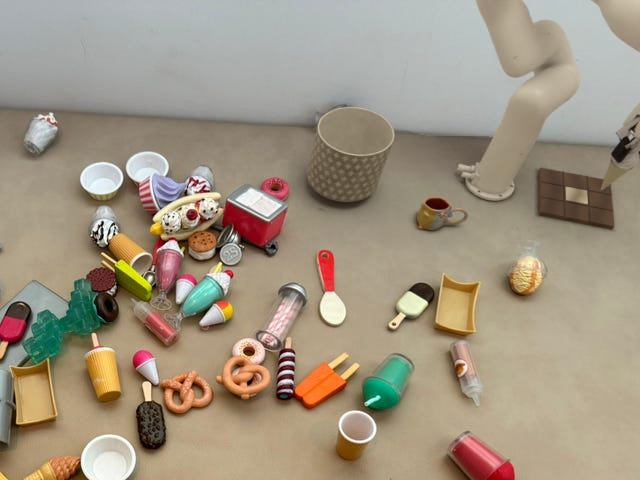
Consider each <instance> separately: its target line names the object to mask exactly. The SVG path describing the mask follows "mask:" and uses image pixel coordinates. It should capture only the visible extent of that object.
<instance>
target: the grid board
mask: <svg viewBox="0 0 640 480" xmlns="http://www.w3.org/2000/svg"><path fill="white" fill-rule="evenodd" d="M603 181H604V178H599V177H594V176H590V175H584V174H578V173H571V172H568V171H567V172H566V171H564V170H563V171H561V170H556V169H550V168H545V167H539V169H538V216H542V217H547V218H552V219H557V220H563V221H567V222H572V223H577V224H583V225H588V226H594V227H598V228H602V229H608V230H613V229H614V228H615V215H614V205H613V197H612V195H613V193H612V183H611V184H610V185H609V186H607V187H606V188H604V189H603V190H601V186H602V184H603Z"/></svg>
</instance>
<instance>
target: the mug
mask: <svg viewBox="0 0 640 480" xmlns="http://www.w3.org/2000/svg"><path fill="white" fill-rule="evenodd" d="M452 207H453V205H451V204H450V203H449V202H448V200H446V199H445V198H444V197H440V196H434V197H433V196H432V197H428V198H427V199H425V200H424V201H423V202H422V203H421V204H420V208H419V209H418V211H417V213H416V214H417V215H416V222H417V224H418V229H424V230H428V231H435V230H438V229H440V228H442V227H443V226H455V225H460V224H463V223H464V222H466V221H467V219H468V217H469V213H468V211H467V210H466V209H465V208H462V207H455V208H452ZM454 212H455V213H456V212H462V213H463V217H462V218H461V219H458V220H449V218H453V213H454Z"/></svg>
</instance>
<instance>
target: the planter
mask: <svg viewBox="0 0 640 480" xmlns="http://www.w3.org/2000/svg"><path fill="white" fill-rule="evenodd" d="M313 140H314V142H313V145H312V149H311V153H310V157H309V162H308V166H307V171H306V179H307V181H308V184H309V185H310V187H311V188H312V189H313V190H314V191H315V192H316V193H317V194H319V195H320V196H322V197H323V198H326V199H329V200H331V201H335V202H340V203H341V202H342V203H353V202H359V201H362V200H364V199H367V198H368V197H370V196H371V195H373V193H374V192H375V191H376V189H377V187H378V185H379V182H380V179H381V177H382V174H383V170H384V168H385V165H386V162H387V160H388V157H389V154H390V152H391V149H392V145H393V143H394V140H395V130H394V128H393V126H392V124H391V122H389V120H387V119H386V117H384V116H383V115H381V114H379V112H375V111H373V110H371V109H368V108H365V107H363V108H362V107H358V106H345V107H339V108H334V109H332V110H330V111H327V112H326V113H325V114H324V115H322V116H321V118H320V119H319V121H318V124H317V126H316V131H315V136H314V139H313Z"/></svg>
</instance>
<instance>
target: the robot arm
mask: <svg viewBox="0 0 640 480" xmlns="http://www.w3.org/2000/svg"><path fill="white" fill-rule="evenodd" d="M590 1H591V2H592V3H594V4H595V5H596V6H598V8H599V10H600V13H601V16H602V18H603V20H604V21H605V24H606V25H607V27H608V28H609V30H610V31H611V32H612V33H613V34H614V35H615V36H616V37H617V38H618V39H619V40H621V41H622V42H623V43H625V44H626V45H627V46H629V47H630V48H632V49H633V50H635V51H637V52H638V53H640V0H590ZM475 3H476V6H477V9H478V11H479V14H480V15H481V17H482V19H483V21H484V23H485V26H486V28H487V30H488V33H489V37H490V39H491V43H492V45H493V47H494V50H495V53H496V56H497V58H498V61H499V64H500V66H501V69H502V71H503V72H504V73H505V74H506V75H507V76H508V77H511V78H513V79H514V78H515V79H518V78H522V77H525V76H526V75H528V74H530V73H532V72H533V76H532V77H530V78H529V79H527V80H526V81H524V82H523V83H521V84H520V86H518V87H517V88H516V89H515V90H514V92H513V93H512V94H511V96H510V98H509V99H508V102H507V105H506V109H505V111H504V114H503V116H502V119H501V120H500V123H499V125H498V127H497V128H496V131H495V133H494V134H493V137H492V139H491V140H490V143H489V144H488V146H487V148H486V150H485V152H484V154H483V156H482V158H481V160H480V162H479V161H476V163H475V164H474V165H473V164H471V165H467V164H462V163H458V165H457V168H456V171H457V172H460V173H461V175H460V177H461V178H464V179H465V180H464V181H465V186H466V188H467V190H469V192H470V193H472V194H473V195H474V196H476V197H478V198H480V199H483V200H486V201H493V202H494V201H495V202H496V201H497V202H498V201H504V200H506V199H508V198H510V197H511V195H512V194H513V193H514V190H515V182H514V179H515V177H516V176H517V174H518V172H519V170H520V169H521V167H522V165H523V164H524V162H525V160H526V159H527V157H528V155H529V154H530V152H531V151H532V148H533V147H534V145H535V143H536V141H538V138H539V136H540V134H541V132H542V129H543V127H544V124H545V122H546V120H547V119H548V118H549V116H550V115H551V114H552V113H553V112H555V111H556V110H557V109H558V108H560V107H561V106H562V105H564V104H565V103H567V102H568V101H569V100H571V98H573V97H574V96H575V94H576V93H577V91H579V88H580V84H581V83H580V82H581V78H580V77H581V76H580V71H579V68H578V65H577V63H576V59H575V56H574V54H573V50H572V48H571V45H570V42H569V39H568V37H567V36H568V35H567V34H566V32H565V30H564V28H562V26H561V25H559V23H557V22H556V21H554V20H551V19H540V20H537V21H534V22H533V18H532V16H531V13H530V10H529V8H528V6H527V4H526V3H525V1H523V0H475ZM615 134H616V136H617V137H618V140H619V142H618V144H616V146H615V148H614V149H613V150H612V151H611V153H610V154H611V158H612V157H613V158H614V159H615V160H616V161H617V162H618V163H621V162H622V161H623V160H624V158H625V157H626V156H627V154H628V153H629V152H630V151H631V149H632V148H631V146H632V145H633V144H634V143H635V142H636V141H638V140H639V139H640V102H638V103H637V105H636V106H634V108H633V109H632V110H631V112H630V113H629V114H628V116H627V117H626V118H625V119H624V121H623V123H622V127H620V128H619V129H618V130H617V131H616V132H615ZM631 135H632V138H631V139H630V137H631ZM639 155H640V151H639ZM639 159H640V157H639Z"/></svg>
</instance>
